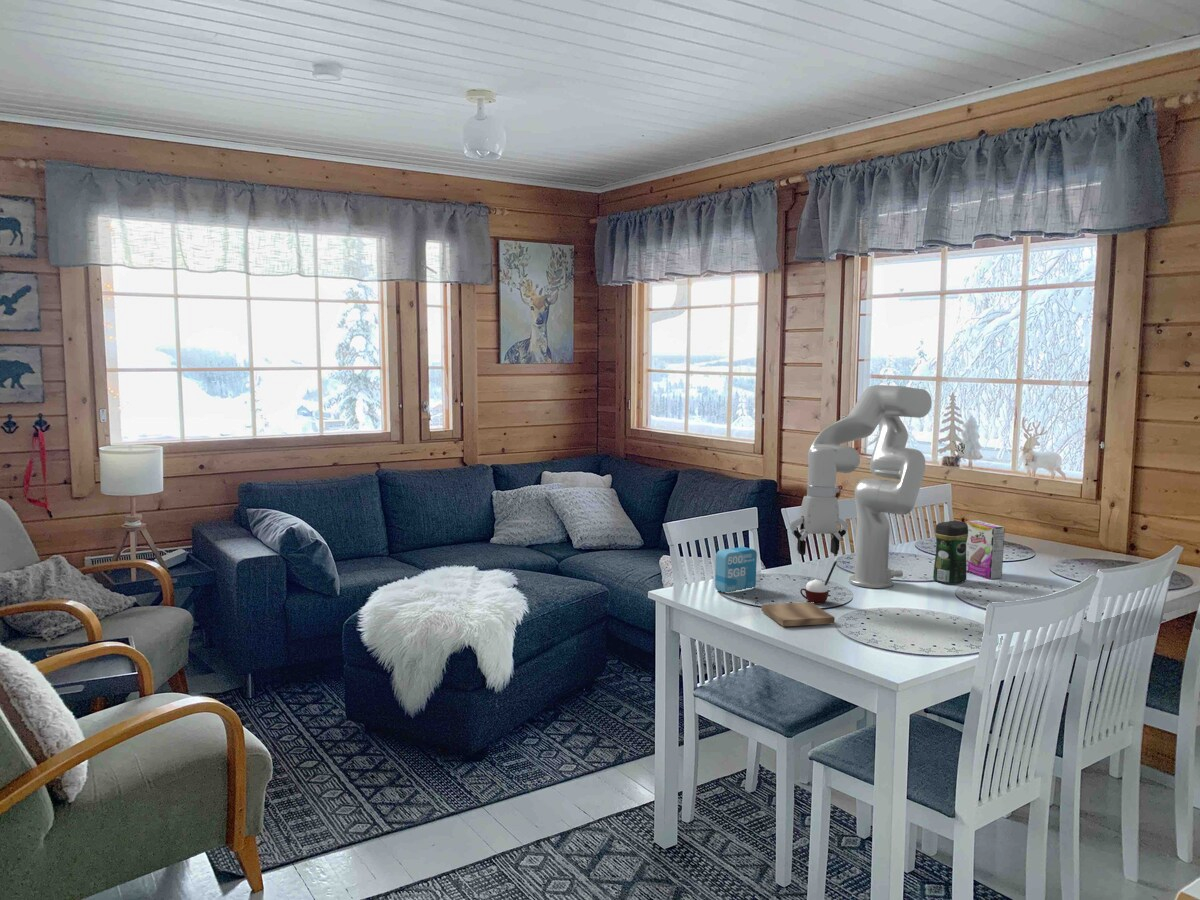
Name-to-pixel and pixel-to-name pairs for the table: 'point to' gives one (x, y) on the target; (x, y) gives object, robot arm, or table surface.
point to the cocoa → (817, 589)
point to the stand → (797, 614)
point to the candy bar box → (985, 549)
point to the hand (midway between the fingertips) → (817, 553)
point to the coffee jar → (950, 552)
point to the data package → (735, 569)
